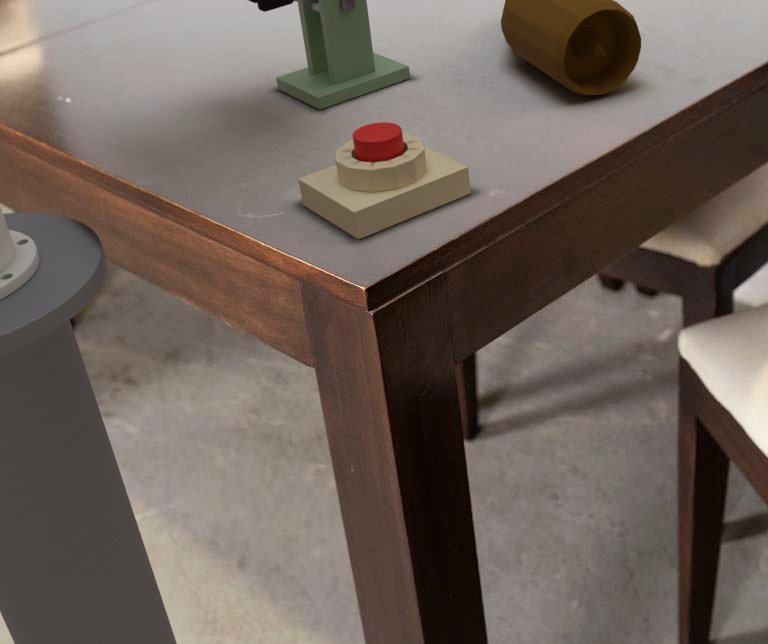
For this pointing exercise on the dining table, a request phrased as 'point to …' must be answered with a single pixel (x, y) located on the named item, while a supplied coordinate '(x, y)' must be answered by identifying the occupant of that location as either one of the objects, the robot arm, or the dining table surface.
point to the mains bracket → (339, 56)
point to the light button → (378, 142)
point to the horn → (575, 41)
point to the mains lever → (314, 3)
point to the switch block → (383, 187)
